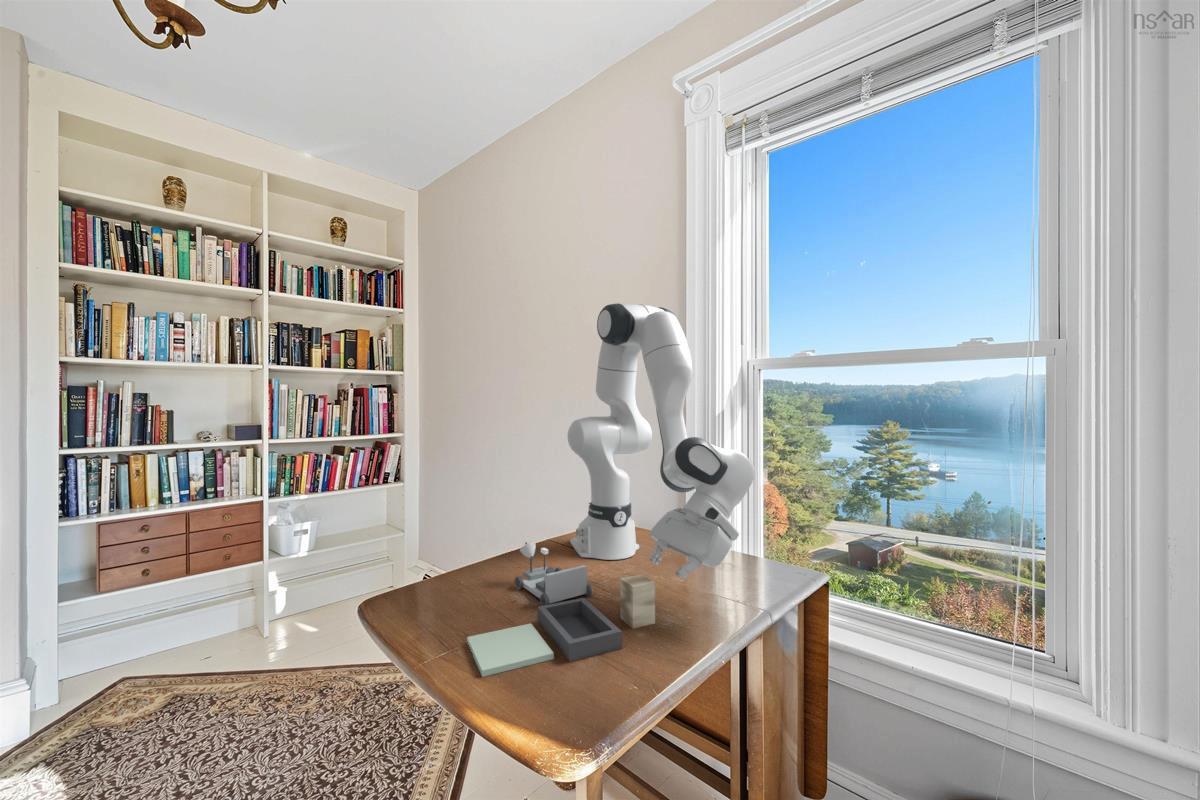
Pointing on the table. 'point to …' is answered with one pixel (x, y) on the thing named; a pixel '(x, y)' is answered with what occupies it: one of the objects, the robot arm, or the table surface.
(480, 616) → the table surface
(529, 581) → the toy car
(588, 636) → the tray
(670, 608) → the table surface
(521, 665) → the pad
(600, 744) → the table surface
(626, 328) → the robot arm
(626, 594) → the birch block
